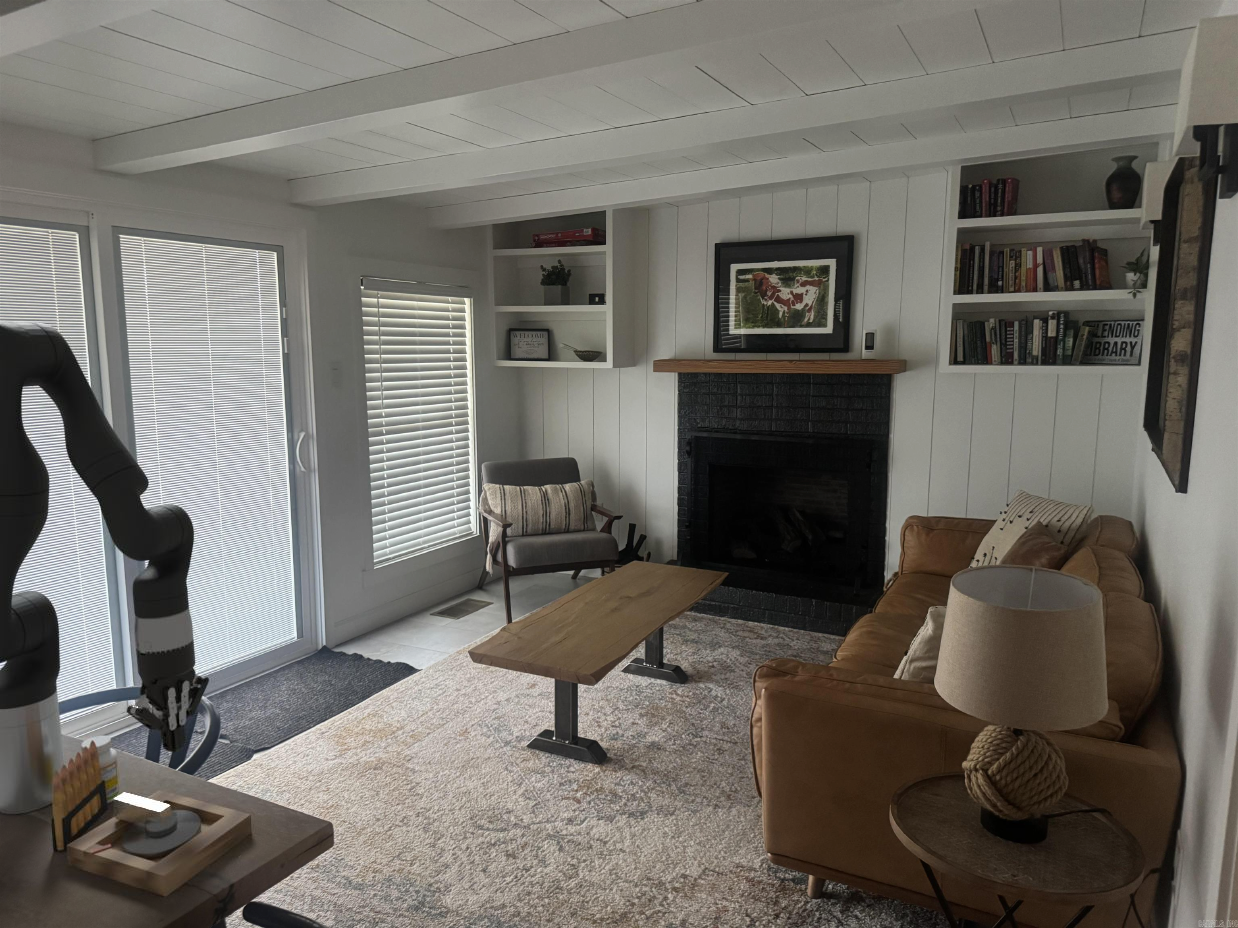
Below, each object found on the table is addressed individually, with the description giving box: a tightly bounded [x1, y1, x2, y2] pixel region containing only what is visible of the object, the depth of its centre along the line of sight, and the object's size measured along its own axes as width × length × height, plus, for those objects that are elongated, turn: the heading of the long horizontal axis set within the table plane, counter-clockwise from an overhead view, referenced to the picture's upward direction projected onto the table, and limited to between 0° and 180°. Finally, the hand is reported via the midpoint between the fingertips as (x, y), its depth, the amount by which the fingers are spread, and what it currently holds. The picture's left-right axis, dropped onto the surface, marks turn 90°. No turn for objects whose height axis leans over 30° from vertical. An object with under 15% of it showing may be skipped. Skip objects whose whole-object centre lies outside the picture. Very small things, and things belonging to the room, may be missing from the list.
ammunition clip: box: [50, 740, 109, 853], centre depth 121 cm, size 11×2×12 cm, turn 3°
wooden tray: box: [66, 789, 253, 898], centre depth 117 cm, size 18×15×3 cm
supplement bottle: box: [80, 735, 121, 804], centre depth 129 cm, size 5×5×10 cm
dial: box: [112, 792, 201, 860], centre depth 118 cm, size 13×10×5 cm
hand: (174, 749), depth 123 cm, fingers closed
